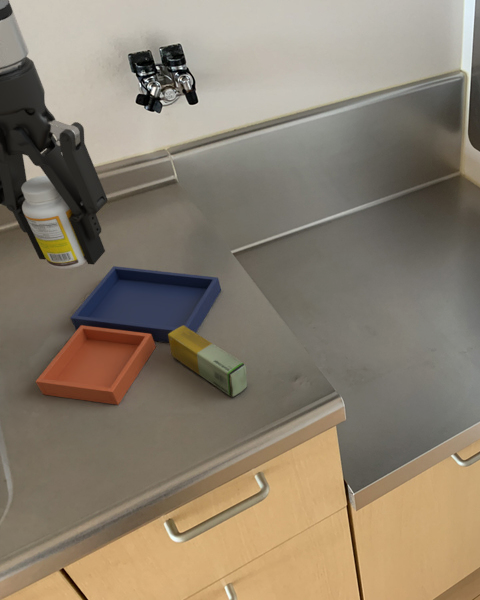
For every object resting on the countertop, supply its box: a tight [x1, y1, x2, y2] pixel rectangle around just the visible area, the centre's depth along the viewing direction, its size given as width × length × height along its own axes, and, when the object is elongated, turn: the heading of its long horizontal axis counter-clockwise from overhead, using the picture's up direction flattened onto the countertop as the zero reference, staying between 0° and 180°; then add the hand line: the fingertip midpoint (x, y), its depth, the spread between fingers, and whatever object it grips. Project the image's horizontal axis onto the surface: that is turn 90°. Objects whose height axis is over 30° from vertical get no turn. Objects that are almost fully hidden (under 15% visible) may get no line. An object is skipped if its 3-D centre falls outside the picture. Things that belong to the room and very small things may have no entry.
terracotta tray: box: [35, 325, 157, 406], centre depth 79 cm, size 10×10×2 cm
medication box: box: [168, 326, 248, 398], centre depth 78 cm, size 12×3×4 cm, turn 54°
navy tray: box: [70, 265, 222, 343], centre depth 88 cm, size 17×12×2 cm
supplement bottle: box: [21, 174, 87, 270], centre depth 71 cm, size 6×6×10 cm
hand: (72, 254), depth 74 cm, fingers closed on supplement bottle, 6 cm apart
